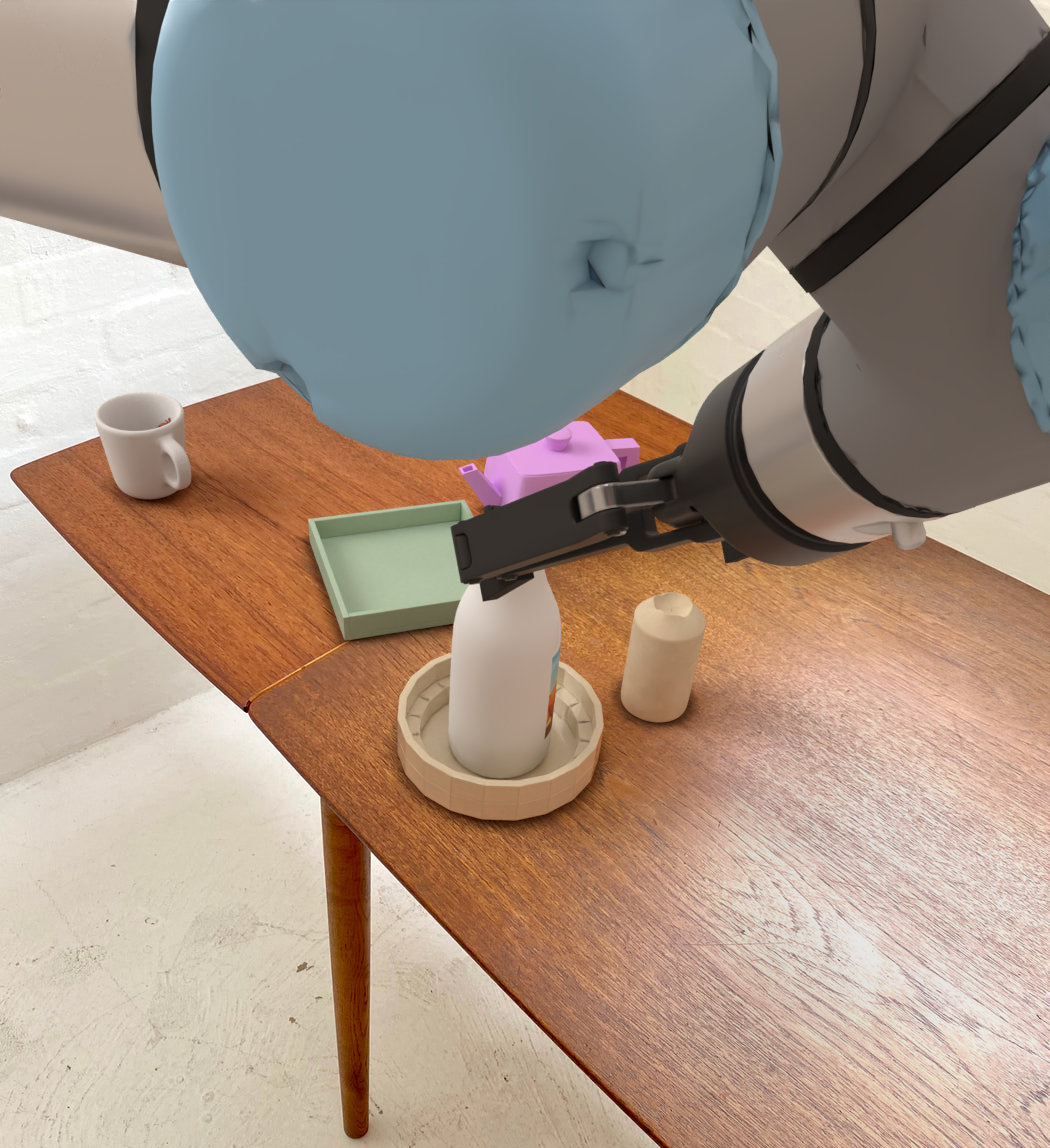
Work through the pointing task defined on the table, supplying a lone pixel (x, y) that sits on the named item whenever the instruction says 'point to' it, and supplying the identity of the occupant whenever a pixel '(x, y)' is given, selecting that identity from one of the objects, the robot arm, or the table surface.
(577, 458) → the teapot
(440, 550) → the tray
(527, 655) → the milk bottle
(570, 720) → the bowl
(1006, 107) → the robot arm
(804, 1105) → the table surface
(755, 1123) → the table surface
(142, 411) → the cup
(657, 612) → the candle
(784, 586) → the table surface
